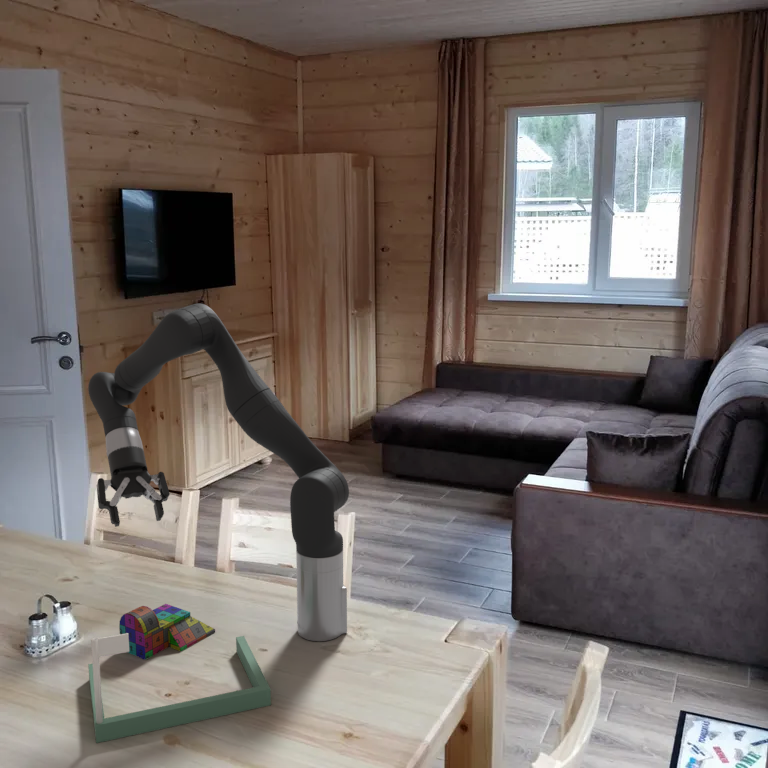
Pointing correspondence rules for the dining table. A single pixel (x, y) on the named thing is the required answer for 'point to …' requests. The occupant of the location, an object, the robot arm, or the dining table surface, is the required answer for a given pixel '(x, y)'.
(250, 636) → the dining table surface
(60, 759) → the dining table surface
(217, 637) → the dining table surface
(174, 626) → the building blocks
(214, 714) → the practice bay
